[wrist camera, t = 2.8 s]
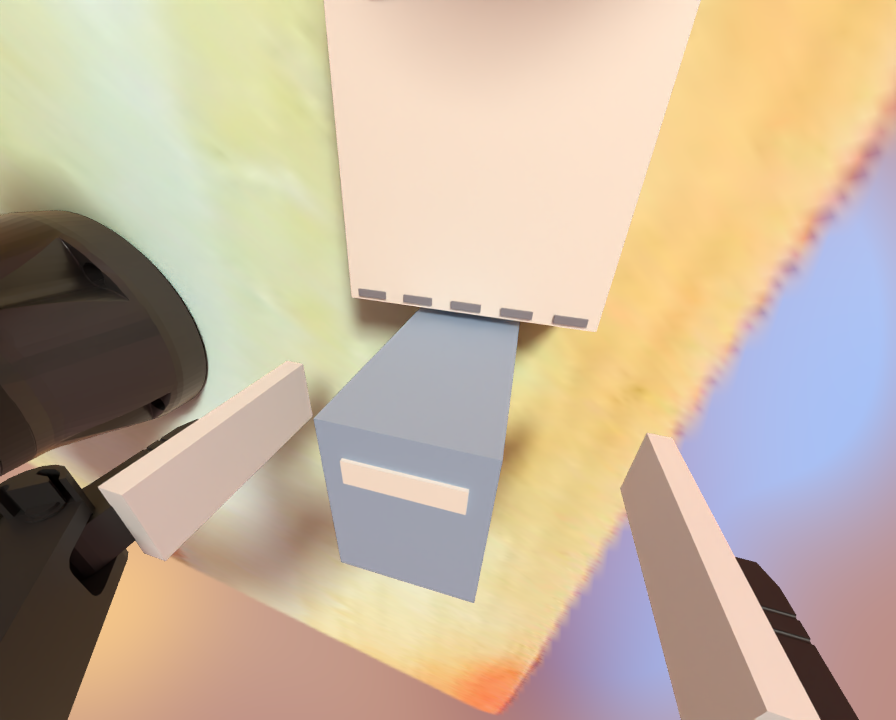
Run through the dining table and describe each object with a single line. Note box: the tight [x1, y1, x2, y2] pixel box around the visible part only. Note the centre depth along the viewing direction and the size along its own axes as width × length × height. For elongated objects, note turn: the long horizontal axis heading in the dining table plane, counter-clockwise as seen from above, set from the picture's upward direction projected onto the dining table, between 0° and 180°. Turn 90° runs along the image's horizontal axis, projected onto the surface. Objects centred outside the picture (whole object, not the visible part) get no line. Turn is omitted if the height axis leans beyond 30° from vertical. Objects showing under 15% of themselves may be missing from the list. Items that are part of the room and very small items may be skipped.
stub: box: [313, 307, 520, 603], centre depth 13 cm, size 4×6×11 cm
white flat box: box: [324, 0, 701, 332], centre depth 11 cm, size 10×13×4 cm
